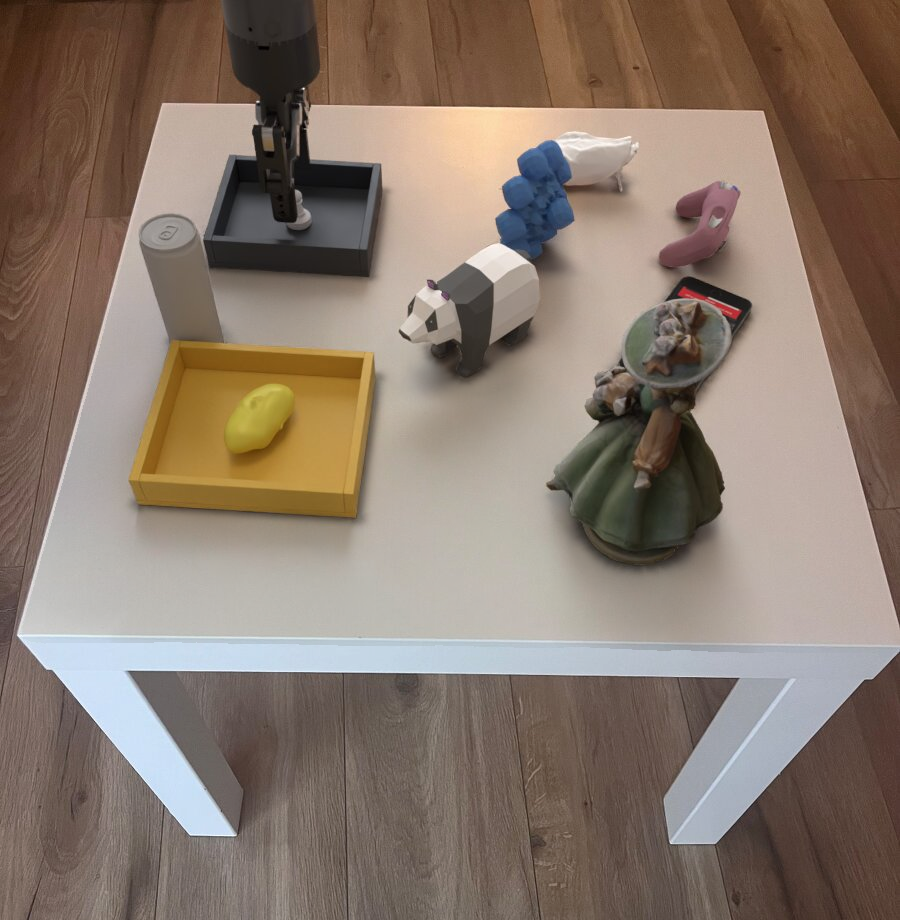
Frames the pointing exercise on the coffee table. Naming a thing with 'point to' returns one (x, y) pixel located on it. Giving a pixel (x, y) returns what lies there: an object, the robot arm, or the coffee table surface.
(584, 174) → the bird figurine
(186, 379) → the yellow tray
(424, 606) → the coffee table surface
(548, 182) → the grapes
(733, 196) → the video game controller
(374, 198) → the charcoal tray
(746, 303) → the smartphone
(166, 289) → the beverage can
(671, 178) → the coffee table surface
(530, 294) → the giant panda
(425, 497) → the coffee table surface
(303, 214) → the chess pawn
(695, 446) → the figurine
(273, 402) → the yellow oblong lump
